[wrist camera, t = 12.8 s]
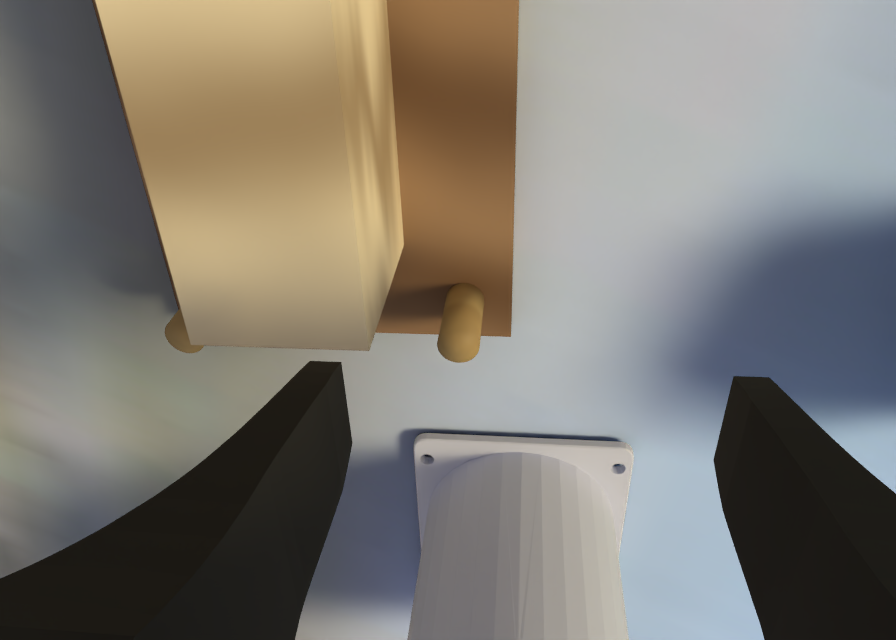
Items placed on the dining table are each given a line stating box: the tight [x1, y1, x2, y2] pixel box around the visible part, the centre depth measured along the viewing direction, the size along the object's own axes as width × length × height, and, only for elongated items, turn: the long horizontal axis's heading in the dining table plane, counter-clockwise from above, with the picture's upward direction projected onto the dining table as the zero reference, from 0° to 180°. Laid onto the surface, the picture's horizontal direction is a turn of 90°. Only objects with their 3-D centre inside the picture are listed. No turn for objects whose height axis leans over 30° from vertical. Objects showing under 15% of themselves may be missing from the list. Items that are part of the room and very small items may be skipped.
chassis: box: [92, 0, 519, 362], centre depth 18 cm, size 16×11×3 cm
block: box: [95, 0, 404, 351], centre depth 17 cm, size 10×4×6 cm, turn 2°
